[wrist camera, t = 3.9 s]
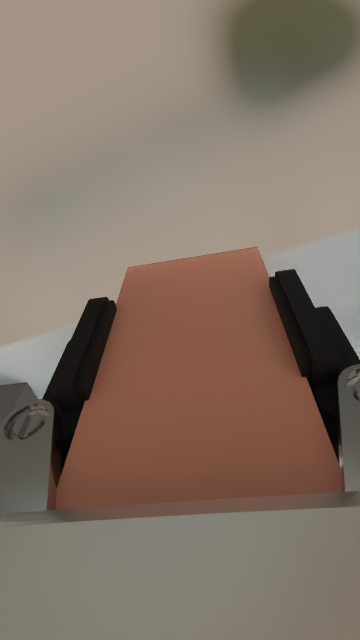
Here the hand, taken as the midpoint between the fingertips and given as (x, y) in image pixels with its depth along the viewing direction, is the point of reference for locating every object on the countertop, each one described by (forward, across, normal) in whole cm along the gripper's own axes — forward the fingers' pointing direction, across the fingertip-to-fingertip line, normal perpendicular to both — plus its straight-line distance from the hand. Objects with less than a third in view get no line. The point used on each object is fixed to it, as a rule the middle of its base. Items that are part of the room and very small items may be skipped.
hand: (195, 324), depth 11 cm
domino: (+3, 0, 0) cm, 3 cm away
